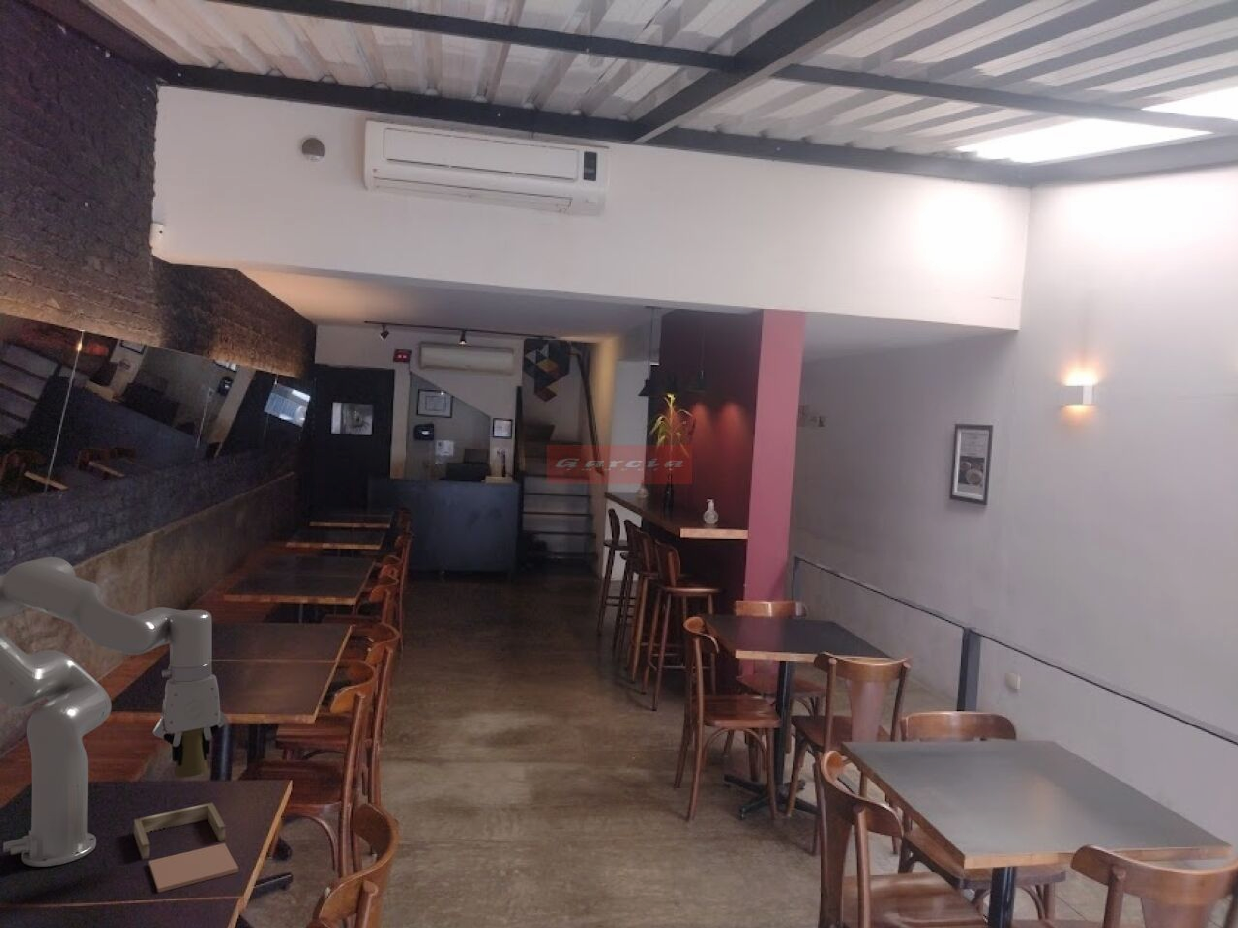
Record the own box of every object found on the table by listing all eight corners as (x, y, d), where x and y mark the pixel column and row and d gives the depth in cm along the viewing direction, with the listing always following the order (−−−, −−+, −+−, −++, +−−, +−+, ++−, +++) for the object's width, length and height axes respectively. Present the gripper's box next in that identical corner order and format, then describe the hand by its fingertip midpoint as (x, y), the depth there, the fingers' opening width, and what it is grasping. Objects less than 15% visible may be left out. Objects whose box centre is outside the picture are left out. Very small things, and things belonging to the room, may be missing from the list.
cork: (195, 777, 169) (195, 723, 168) (167, 775, 170) (167, 721, 169) (214, 766, 175) (214, 713, 174) (187, 763, 176) (187, 711, 175)
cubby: (142, 859, 170) (142, 844, 170) (133, 832, 180) (133, 819, 180) (225, 839, 179) (225, 825, 179) (212, 815, 190) (212, 802, 189)
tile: (158, 892, 158) (158, 888, 158) (148, 864, 168) (148, 860, 168) (238, 871, 167) (238, 867, 167) (224, 846, 176) (224, 842, 176)
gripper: (148, 683, 163) (148, 776, 164) (239, 669, 174) (239, 757, 174) (140, 674, 169) (141, 764, 170) (229, 661, 179) (229, 746, 180)
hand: (191, 759), depth 172 cm, fingers closed on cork, 3 cm apart
